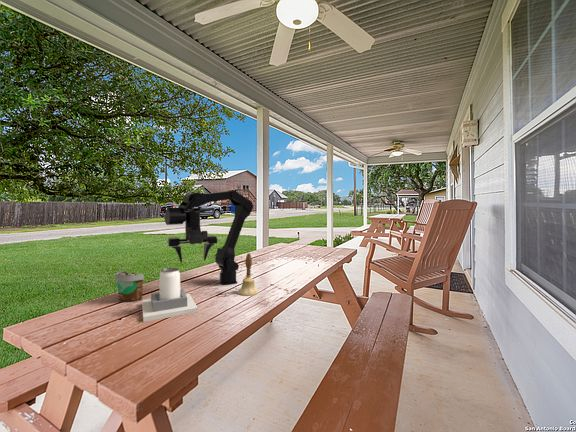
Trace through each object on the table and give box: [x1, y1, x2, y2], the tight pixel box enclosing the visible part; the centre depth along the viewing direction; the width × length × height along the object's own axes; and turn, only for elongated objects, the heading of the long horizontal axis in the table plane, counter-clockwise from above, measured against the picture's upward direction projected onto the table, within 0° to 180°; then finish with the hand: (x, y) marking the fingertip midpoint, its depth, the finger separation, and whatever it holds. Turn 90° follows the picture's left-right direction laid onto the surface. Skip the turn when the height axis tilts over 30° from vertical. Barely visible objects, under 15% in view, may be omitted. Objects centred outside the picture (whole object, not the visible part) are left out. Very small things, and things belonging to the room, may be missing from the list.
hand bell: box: [237, 252, 259, 297], centre depth 112 cm, size 8×8×16 cm
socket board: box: [141, 288, 199, 323], centre depth 95 cm, size 16×16×4 cm
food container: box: [114, 269, 145, 303], centre depth 102 cm, size 12×6×10 cm, turn 62°
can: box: [158, 267, 181, 301], centre depth 94 cm, size 6×6×12 cm
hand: (193, 261), depth 113 cm, fingers open, 9 cm apart
